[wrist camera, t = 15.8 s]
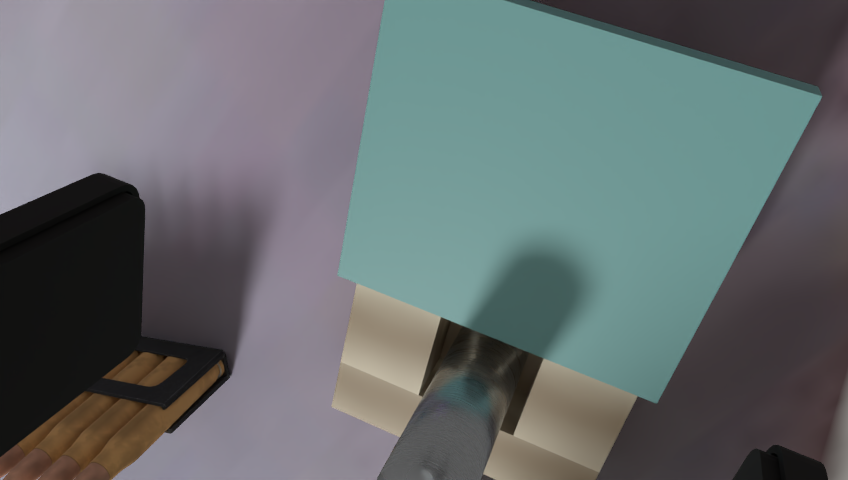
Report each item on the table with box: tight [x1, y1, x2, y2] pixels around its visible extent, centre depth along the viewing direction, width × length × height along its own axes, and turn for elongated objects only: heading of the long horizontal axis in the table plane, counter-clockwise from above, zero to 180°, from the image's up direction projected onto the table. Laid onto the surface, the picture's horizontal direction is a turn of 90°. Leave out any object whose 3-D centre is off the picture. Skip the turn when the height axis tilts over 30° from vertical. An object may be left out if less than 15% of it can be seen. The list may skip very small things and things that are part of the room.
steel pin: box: [377, 326, 529, 480], centre depth 28 cm, size 3×3×10 cm
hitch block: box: [332, 284, 638, 480], centre depth 29 cm, size 18×12×4 cm, turn 167°
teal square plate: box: [338, 0, 822, 404], centre depth 24 cm, size 12×13×1 cm
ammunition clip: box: [0, 337, 230, 480], centre depth 37 cm, size 11×2×12 cm, turn 94°
